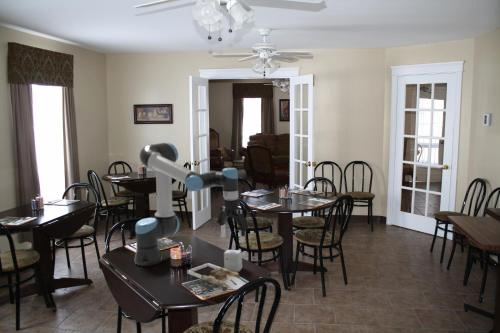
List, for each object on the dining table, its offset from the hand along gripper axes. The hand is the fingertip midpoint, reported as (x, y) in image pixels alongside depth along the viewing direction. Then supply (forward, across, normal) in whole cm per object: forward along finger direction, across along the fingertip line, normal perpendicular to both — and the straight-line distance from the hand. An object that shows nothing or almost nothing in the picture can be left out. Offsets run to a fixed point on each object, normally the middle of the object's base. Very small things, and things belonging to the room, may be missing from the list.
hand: (232, 239), depth 220 cm
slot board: (+17, +3, -12) cm, 21 cm away
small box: (+17, 0, 0) cm, 17 cm away
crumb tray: (+17, -9, -12) cm, 22 cm away
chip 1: (+16, -1, -11) cm, 19 cm away
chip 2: (+16, +3, -12) cm, 20 cm away
